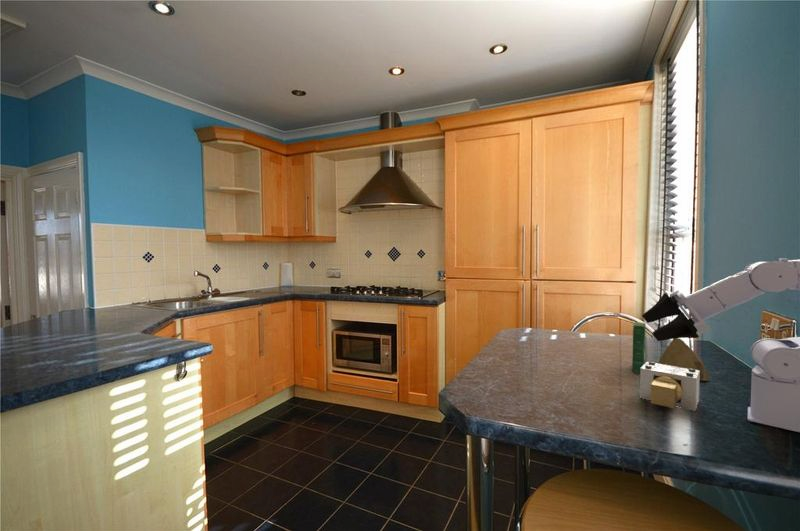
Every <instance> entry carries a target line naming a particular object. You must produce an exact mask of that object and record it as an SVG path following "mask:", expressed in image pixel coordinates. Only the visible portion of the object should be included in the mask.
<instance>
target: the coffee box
mask: <svg viewBox="0 0 800 531" xmlns="http://www.w3.org/2000/svg"><path fill="white" fill-rule="evenodd" d="M646 323H647V322H646ZM646 323H645V322H641V321H640V322H639V321H635V322H634V324H633V326H632V364H631V365H632V366H631V371H632V372H633V373H639V374H640V372H641V367H642V366H643V365H644V364H645V363H646V333H647V332H646V331H647V330H646V327H647V326H646Z"/></svg>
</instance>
